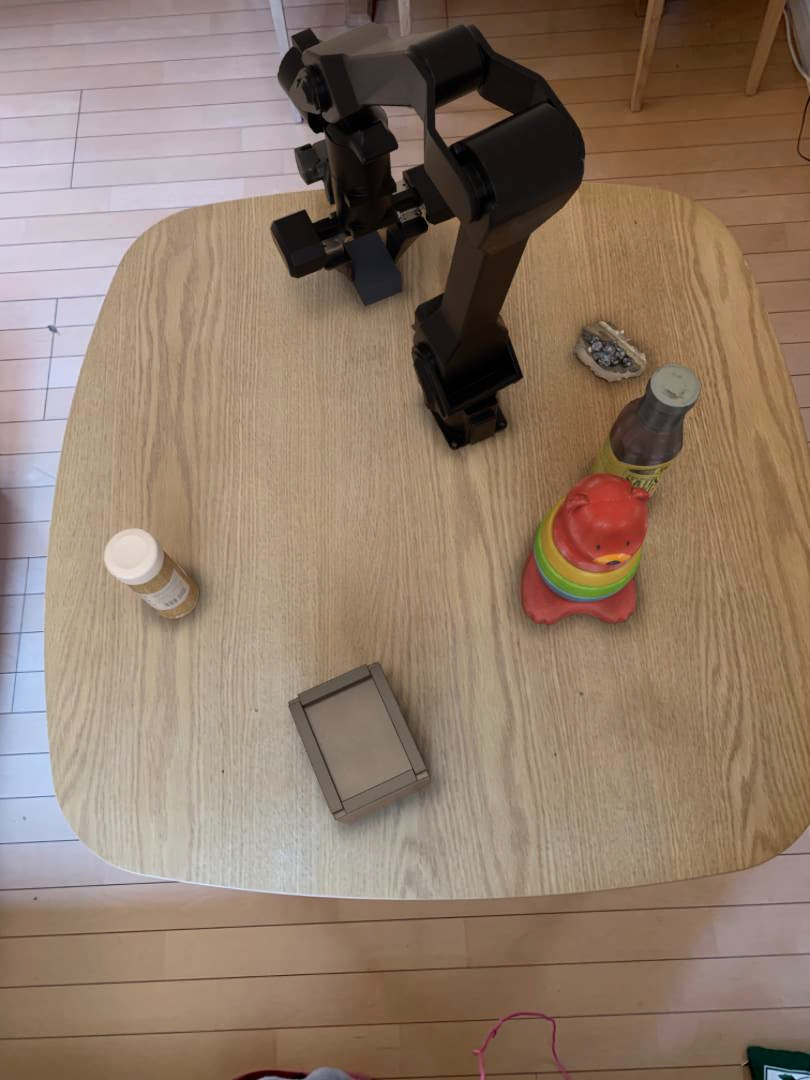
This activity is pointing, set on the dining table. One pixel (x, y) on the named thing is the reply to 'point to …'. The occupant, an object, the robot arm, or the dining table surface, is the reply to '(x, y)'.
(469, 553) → the dining table surface
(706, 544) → the dining table surface
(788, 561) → the dining table surface
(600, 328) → the mineral rock specimen
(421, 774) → the backing frame
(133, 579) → the sprinkles bottle
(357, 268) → the dark blue rectangular block
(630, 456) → the sauce bottle
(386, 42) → the robot arm
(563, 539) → the stacking bear
